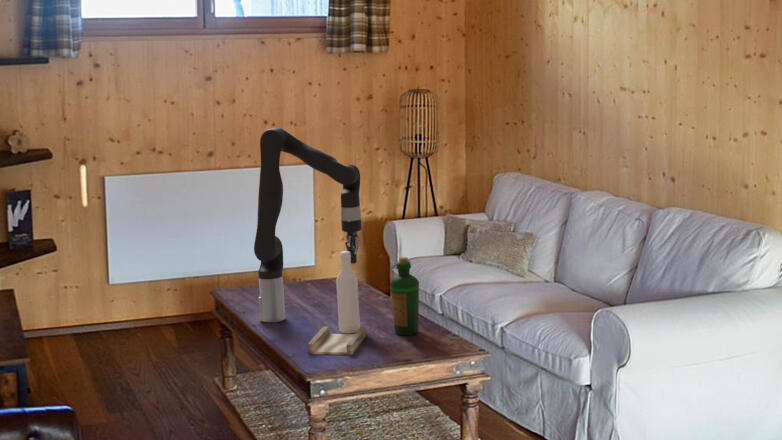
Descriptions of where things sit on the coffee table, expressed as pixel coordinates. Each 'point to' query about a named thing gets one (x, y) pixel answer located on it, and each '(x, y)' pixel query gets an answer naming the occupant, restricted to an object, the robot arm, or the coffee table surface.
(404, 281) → the bottle
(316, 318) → the coffee table surface
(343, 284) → the bottle
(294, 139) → the robot arm
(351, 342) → the cradle
